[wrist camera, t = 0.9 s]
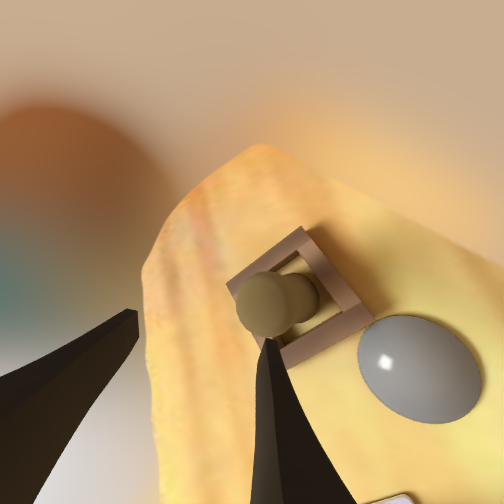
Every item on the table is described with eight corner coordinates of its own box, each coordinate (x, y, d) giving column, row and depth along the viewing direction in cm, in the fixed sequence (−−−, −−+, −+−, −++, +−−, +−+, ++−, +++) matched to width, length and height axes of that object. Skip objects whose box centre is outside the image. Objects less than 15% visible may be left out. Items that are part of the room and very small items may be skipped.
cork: (298, 263, 25) (267, 248, 15) (330, 305, 23) (318, 318, 13) (261, 291, 26) (212, 293, 17) (288, 333, 24) (249, 364, 14)
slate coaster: (508, 394, 16) (514, 398, 16) (402, 435, 18) (404, 439, 18) (418, 297, 19) (420, 298, 19) (338, 342, 22) (338, 343, 21)
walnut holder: (373, 316, 21) (376, 320, 19) (281, 368, 24) (274, 376, 22) (304, 231, 25) (300, 225, 23) (235, 283, 28) (225, 283, 26)
